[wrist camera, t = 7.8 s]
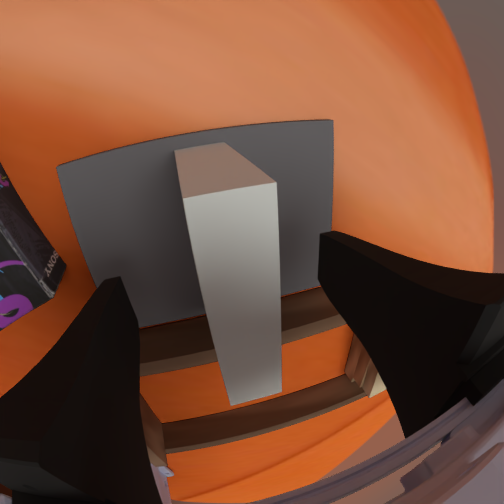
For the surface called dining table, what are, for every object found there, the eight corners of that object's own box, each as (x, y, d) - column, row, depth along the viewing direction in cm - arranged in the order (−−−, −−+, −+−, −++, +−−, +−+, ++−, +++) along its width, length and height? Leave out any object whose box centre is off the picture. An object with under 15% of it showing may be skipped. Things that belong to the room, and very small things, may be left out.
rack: (372, 367, 25) (393, 398, 21) (154, 430, 21) (159, 470, 17) (404, 262, 18) (441, 295, 15) (90, 338, 14) (82, 394, 11)
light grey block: (242, 298, 15) (281, 391, 10) (204, 307, 15) (230, 405, 10) (223, 141, 11) (276, 182, 6) (174, 150, 11) (182, 198, 6)
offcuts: (367, 361, 24) (388, 391, 21) (342, 372, 23) (362, 404, 20) (390, 282, 19) (422, 314, 16) (360, 293, 18) (392, 329, 15)
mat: (324, 279, 17) (327, 283, 17) (117, 326, 15) (117, 331, 14) (328, 119, 12) (333, 120, 12) (59, 165, 10) (56, 167, 10)
